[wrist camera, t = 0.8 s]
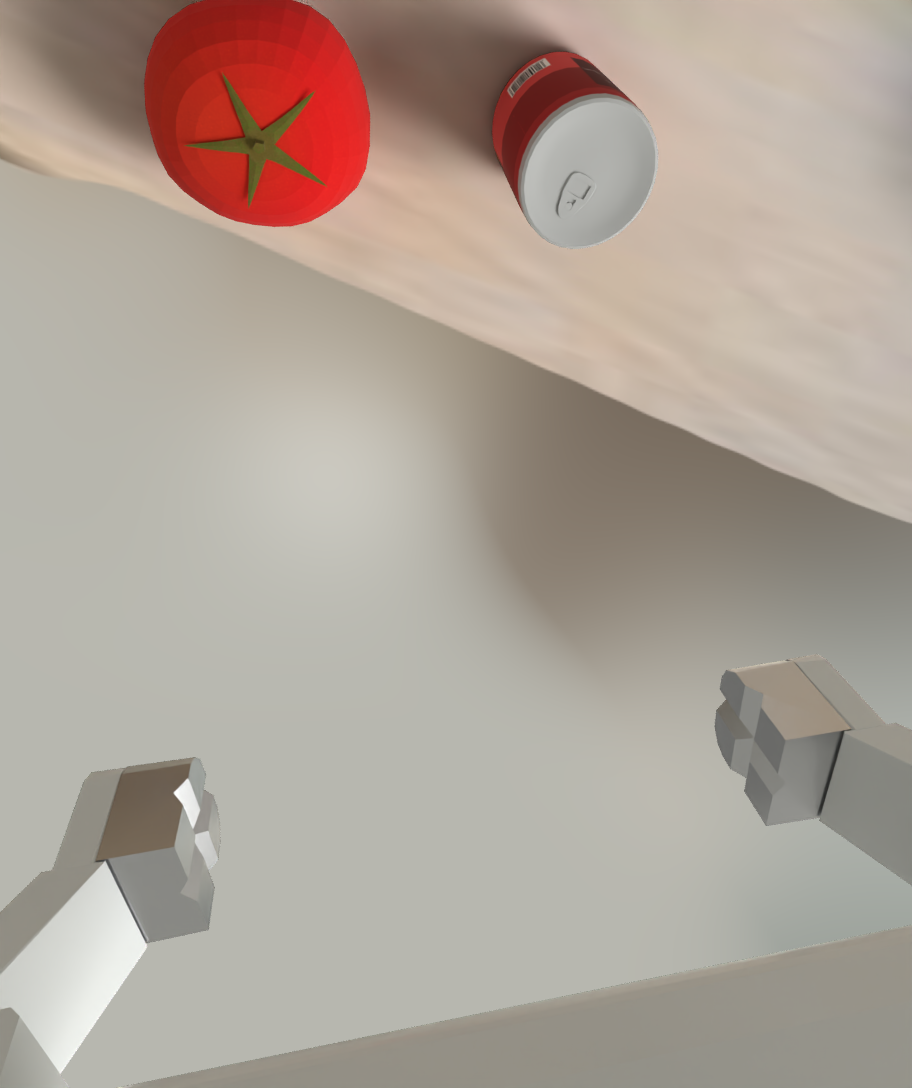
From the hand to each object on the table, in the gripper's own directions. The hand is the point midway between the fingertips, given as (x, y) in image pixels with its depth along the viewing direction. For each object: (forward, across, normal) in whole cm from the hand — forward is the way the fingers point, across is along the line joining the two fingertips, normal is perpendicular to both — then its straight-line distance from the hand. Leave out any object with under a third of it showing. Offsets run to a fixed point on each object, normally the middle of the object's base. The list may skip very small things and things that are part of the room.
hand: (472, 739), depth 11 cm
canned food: (+46, -14, -7) cm, 48 cm away
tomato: (+46, +4, -10) cm, 47 cm away
